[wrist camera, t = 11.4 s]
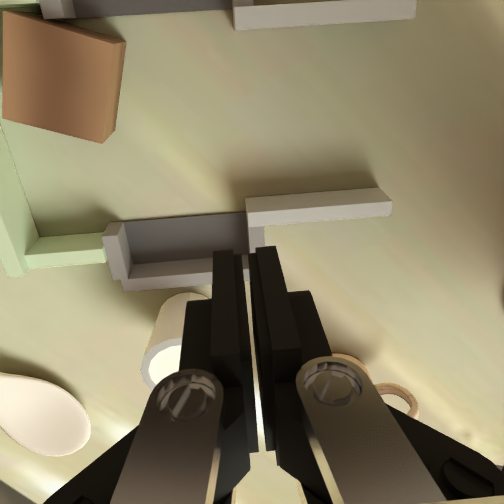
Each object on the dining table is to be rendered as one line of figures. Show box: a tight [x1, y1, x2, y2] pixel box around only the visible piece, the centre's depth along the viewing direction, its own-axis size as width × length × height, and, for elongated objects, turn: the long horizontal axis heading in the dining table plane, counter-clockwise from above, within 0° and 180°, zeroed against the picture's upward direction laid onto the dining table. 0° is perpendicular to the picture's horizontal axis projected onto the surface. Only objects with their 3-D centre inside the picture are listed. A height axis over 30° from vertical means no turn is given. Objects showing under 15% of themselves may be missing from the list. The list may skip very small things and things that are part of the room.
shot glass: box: [140, 292, 208, 391], centre depth 36 cm, size 7×7×7 cm
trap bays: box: [39, 0, 265, 292], centre depth 29 cm, size 12×25×2 cm, turn 3°
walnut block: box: [2, 11, 126, 144], centre depth 26 cm, size 6×6×4 cm
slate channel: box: [0, 0, 417, 277], centre depth 28 cm, size 29×18×4 cm, turn 93°
